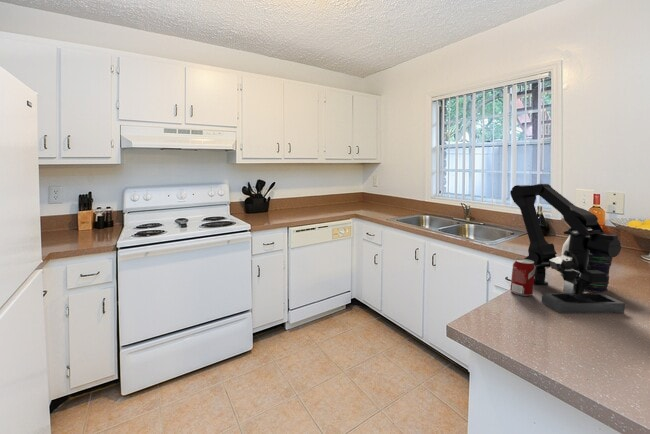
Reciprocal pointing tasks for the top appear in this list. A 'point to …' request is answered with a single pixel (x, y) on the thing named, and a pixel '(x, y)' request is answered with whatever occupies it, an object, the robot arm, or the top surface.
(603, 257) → the storage jar
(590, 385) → the top surface
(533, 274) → the soda can
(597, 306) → the tray
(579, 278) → the robot arm
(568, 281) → the grey foam cube
